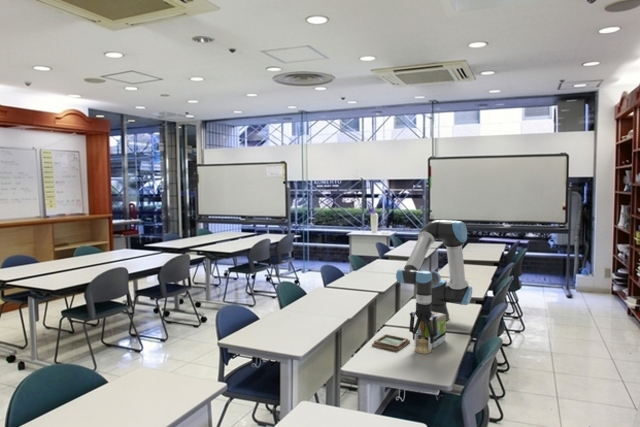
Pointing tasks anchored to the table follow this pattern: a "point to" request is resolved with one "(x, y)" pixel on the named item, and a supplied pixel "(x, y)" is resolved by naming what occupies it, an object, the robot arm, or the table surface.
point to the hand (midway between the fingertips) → (423, 347)
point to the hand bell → (422, 341)
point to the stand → (391, 342)
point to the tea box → (440, 329)
